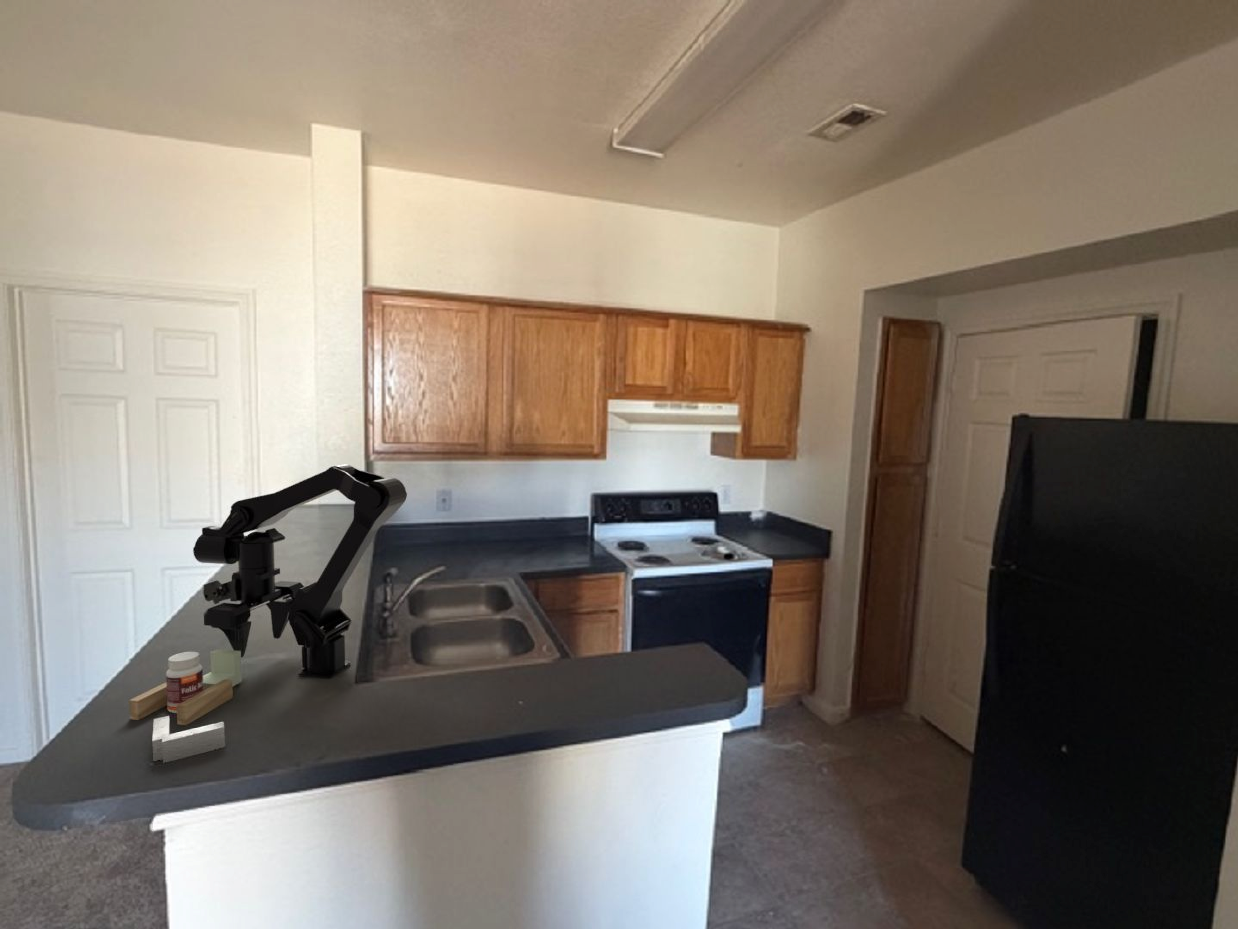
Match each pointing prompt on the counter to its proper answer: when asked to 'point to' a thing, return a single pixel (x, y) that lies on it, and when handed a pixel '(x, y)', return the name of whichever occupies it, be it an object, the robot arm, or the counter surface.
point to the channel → (186, 709)
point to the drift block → (223, 668)
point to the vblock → (185, 740)
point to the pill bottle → (183, 678)
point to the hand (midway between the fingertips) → (259, 647)
